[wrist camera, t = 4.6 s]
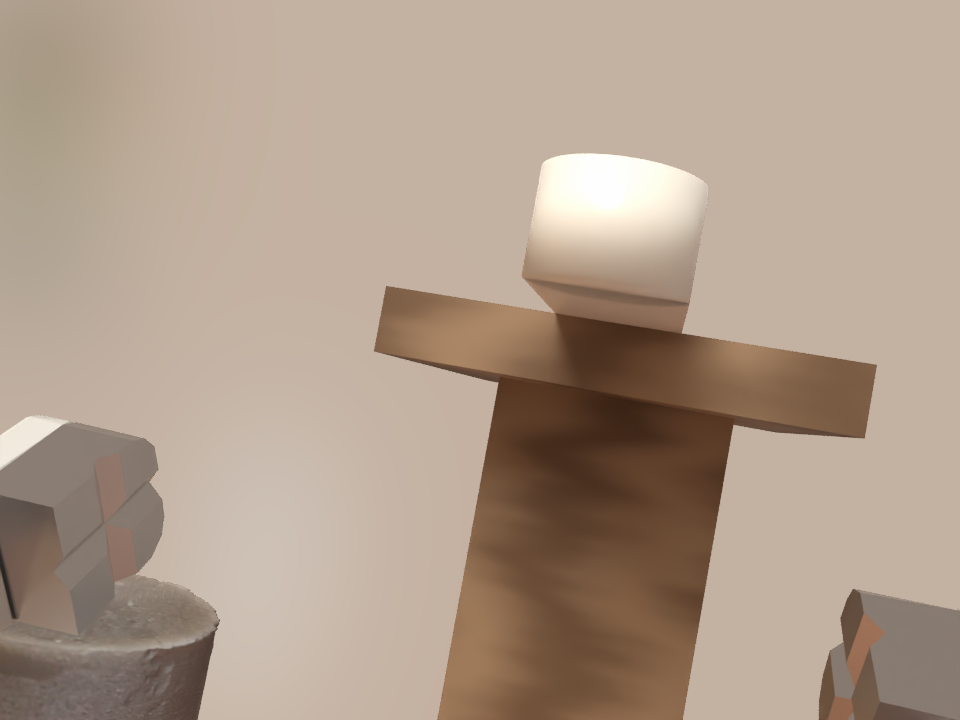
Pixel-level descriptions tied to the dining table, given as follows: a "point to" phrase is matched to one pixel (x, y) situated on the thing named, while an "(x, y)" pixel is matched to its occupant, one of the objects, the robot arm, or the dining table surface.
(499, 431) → the stand
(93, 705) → the pillar candle
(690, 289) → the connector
